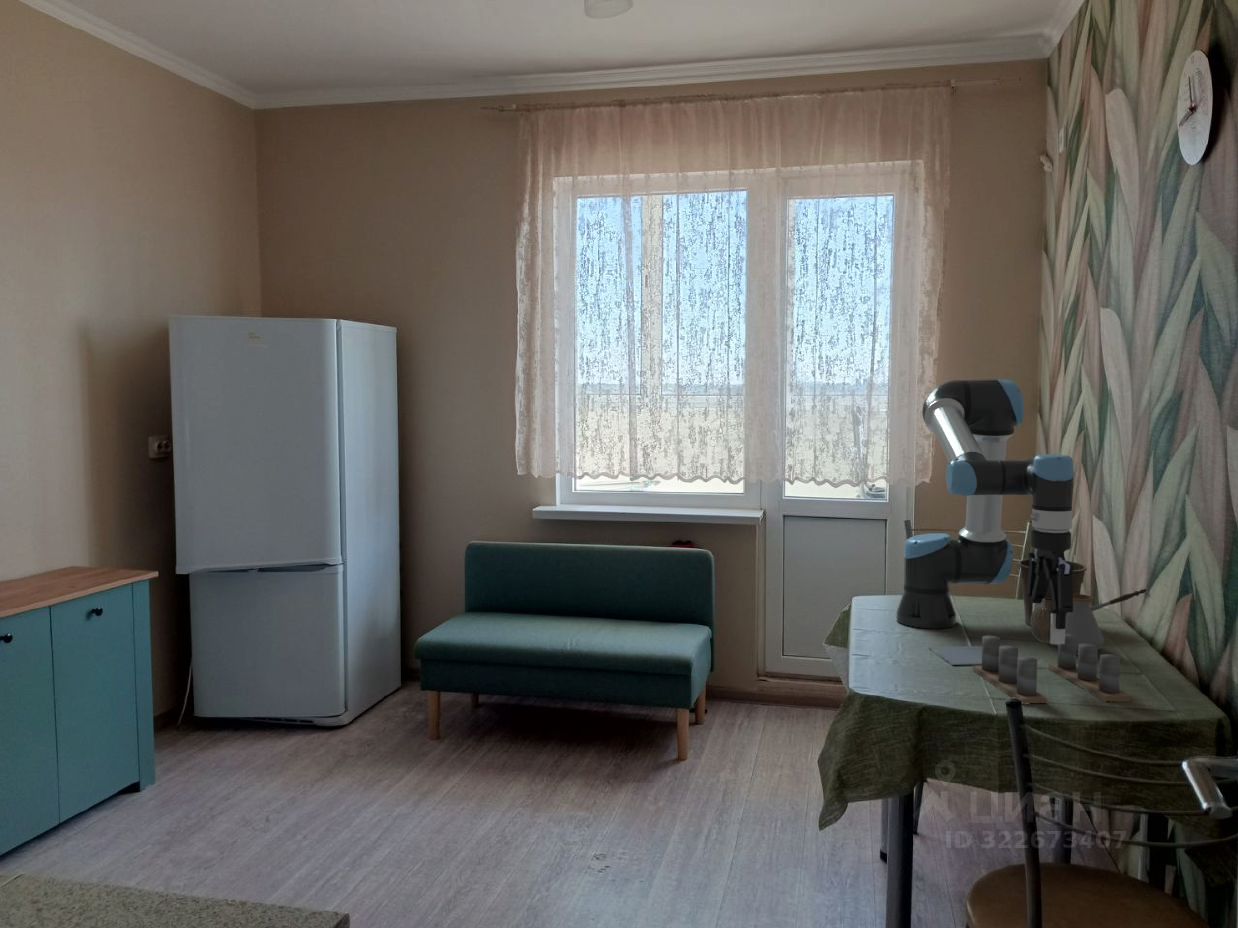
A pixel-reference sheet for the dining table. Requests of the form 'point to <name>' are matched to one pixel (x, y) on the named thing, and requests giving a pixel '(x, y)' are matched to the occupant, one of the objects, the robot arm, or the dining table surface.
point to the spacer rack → (1022, 671)
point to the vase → (1042, 620)
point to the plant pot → (1076, 584)
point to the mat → (961, 654)
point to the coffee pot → (1089, 618)
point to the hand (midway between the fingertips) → (1047, 638)
